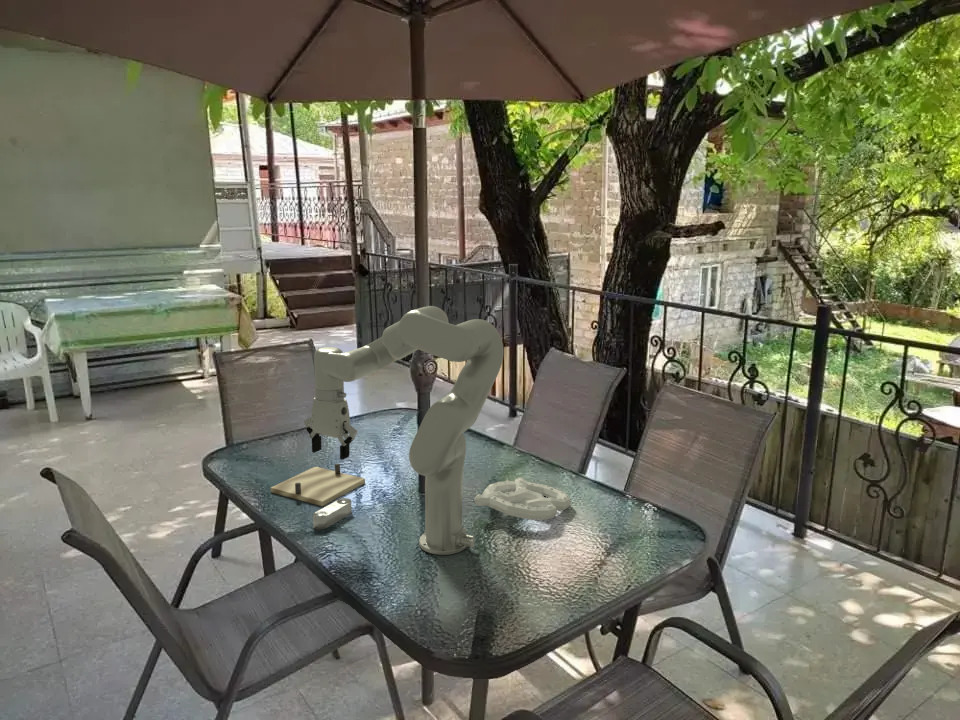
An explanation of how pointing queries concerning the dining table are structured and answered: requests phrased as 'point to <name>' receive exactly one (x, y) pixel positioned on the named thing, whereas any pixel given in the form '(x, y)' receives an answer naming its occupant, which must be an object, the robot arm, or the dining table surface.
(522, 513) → the pretzel
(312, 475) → the board
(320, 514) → the grey capsule bar
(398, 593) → the dining table surface
